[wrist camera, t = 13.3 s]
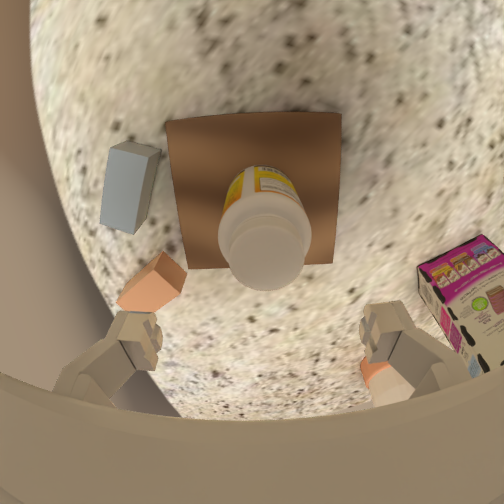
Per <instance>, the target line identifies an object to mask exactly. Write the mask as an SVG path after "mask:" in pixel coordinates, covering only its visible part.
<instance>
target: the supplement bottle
mask: <svg viewBox="0 0 504 504" xmlns="http://www.w3.org/2000/svg"><path fill="white" fill-rule="evenodd" d="M218 243H219V247H220V250H221V252H222V255H223V256H224V258H225V259H226V261H227V262H228V263H229V266H230V269H231V271H232V273H233V275H234V276H235V278H236V279H237V280H238V281H239V282H241V283H242V284H243V285H245V286H247V287H249V288H252V289H255V290H260V291H271V290H277V289H280V288H283V287H285V286H287V285H288V284H290V283H291V282H293V281H294V280H295V279H296V278H297V277H298V275H299V274H300V272H301V270H302V268H303V265H304V259H305V256H306V254H307V252H308V250H309V247H310V244H311V226H310V222H309V219H308V217H307V215H306V212H305V210H304V208H303V206H302V203H301V201H300V199H299V197H298V195H297V192H296V190H295V188H294V186H293V184H292V182H291V180H290V179H289V178H288V176H287V175H286V174H285V173H283V172H282V171H281V170H279V169H277V168H275V167H272V166H269V165H254V166H251V167H248V168H246V169H244V170H242V171H241V172H239V173H238V174H237V175H236V176H235V177H234V179H233V180H232V182H231V184H230V186H229V189H228V192H227V196H226V200H225V204H224V209H223V213H222V217H221V220H220V224H219V230H218Z"/></svg>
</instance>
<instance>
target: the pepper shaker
mask: <svg viewBox="0 0 504 504" xmlns="http://www.w3.org/2000/svg"><path fill="white" fill-rule="evenodd" d="M360 367H361V371H362V374H363V377H364V381H365V384H366V387H367V388H368V389H370V393H371V397H372V401H373V405H374V408H375V407H379V406H384V405H388V404H393V403H397V402H401V401H405V400H408V399H409V398H410V396H411V395H412V393H413V392H414V391H415V388H414V387H413V386H412V385H410V384H409V383H408V382H407V381H406V380H405V379H404V378H403V377H402V376H401V375H400V374H399V373H398V372H397V371H396V370H395V369H394V368H393V367H392V366H391V365H390V364H389V363H388V361H386V362H380V363H372V364H368V361H367V358H366V357H365V358H364V359H363V361H362V362H361V366H360Z"/></svg>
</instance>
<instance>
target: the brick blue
mask: <svg viewBox="0 0 504 504" xmlns="http://www.w3.org/2000/svg"><path fill="white" fill-rule="evenodd" d="M160 154H161V149H157V148H153V147H150V146H146V145H142V144H138V143H134V142H130V141H125V142H122V143H120V144H117V145H115V146H113V147H110V151H109V156H108V162H107V168H106V174H105V181H104V188H103V196H102V205H101V215H100V224H102V225H105V226H108V227H111V228H115V229H118V230H121V231H124V232H127V233H130V234H133V235H134V234H135V233H136V231H137V230H138V229H139V227H140V226H141V225H142V223H143V222H144V221H145V220H146V217H147V211H148V206H149V201H150V196H151V192H152V187H153V183H154V178H155V174H156V170H157V166H158V161H159V157H160Z"/></svg>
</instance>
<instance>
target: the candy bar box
mask: <svg viewBox="0 0 504 504" xmlns="http://www.w3.org/2000/svg"><path fill="white" fill-rule="evenodd" d="M418 279H419V294H420V296H421V298H422V299H423V301H424V302H425V304H426V305H427V307H428V308H429V310H430V312H431V313H432V315H433V316H434V318H435V320H436V321H437V323H438V324H439V326H440V328H441V329H442V331H443V333H444V334H445V336H446V338H447V340H448V341H449V343H450V344H451V347H452V348H453V350H454V351H455V352H456V353H458V354H459V355H461V357H462V359H463V361H464V363H465V365H466V367H467V369H468V371H469V373H470V375H471V377H472V379H473V378H475V377H478V376H480V375H482V374H485V373H487V372H489V371H492V370H494V369H496V368H498V367H500V366H503V365H504V253H503V252H502V251H501V250H500V249H499V248H498V247H497V246H495V245H494V244H493V243H492V242H491V241H490V240H489V239H488V238H486V237H485V236H484V235H483V234H482V235H479V236H478V237H476V238H474V239H472V240H470V241H468V242H466V243H465V244H463V245H461V246H459V247H457V248H455V249H453V250H451V251H449V252H447V253H445V254H443V255H441V256H439V257H437V258H435V259H433V260H431V261H429V262H427V263H425V264H423V265H421V266H418Z"/></svg>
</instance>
